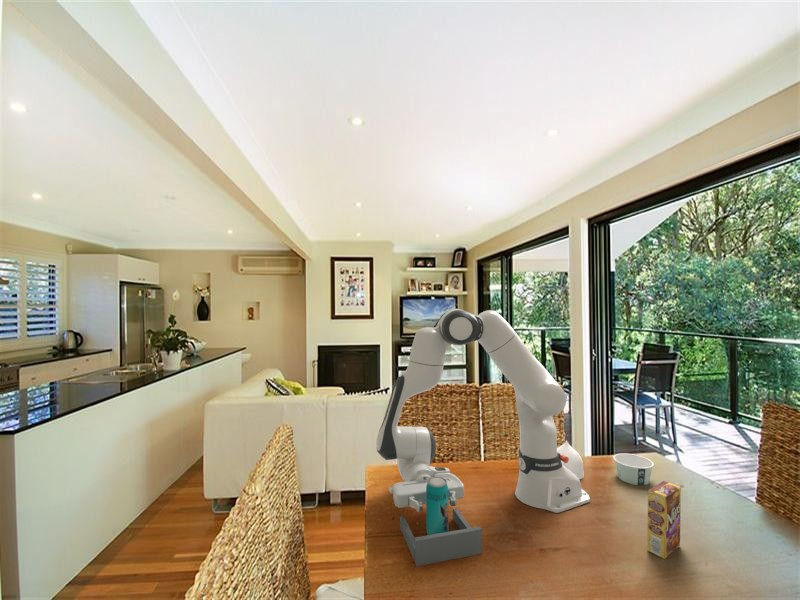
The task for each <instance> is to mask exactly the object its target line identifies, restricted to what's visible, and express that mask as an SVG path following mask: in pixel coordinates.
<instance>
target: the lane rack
mask: <svg viewBox="0 0 800 600" xmlns="http://www.w3.org/2000/svg"><path fill="white" fill-rule="evenodd" d="M452 520H453V522H454V523H455V524H456V526H457V527H458V529H456V530H451V531H449V532H444V533H438V534H433V535H428V534H427V535H422V536H417V537H416V536H414V534H413V532H412V529H411V528H410V526H409V523H408V521H407V519H406V518H405V516H404V515H402V516H399V529H400V531H401V533H402V535H403V538H404V540H405V543H406V545H407V548H408V549H409V551H410V554H411V555H412V559H413V561H414V564H415V565H416V567H419V566H424V565H425V566H426V565H429V564H436V563H440V562H446V561H451V560H455V559H462V558H465V557H467V558H468V557H472V556H476V555H482V554H483V539H482V538H483V537H482V536H483V534H482V533H483V532H482V531H483V530H482V528H481V526H475V527H471V525H470V524H469V522H468V521H467V519H465V517H464V516H463V515H462V513H461V512H460V510H459V509H458V508H457V507H455V508H452Z"/></svg>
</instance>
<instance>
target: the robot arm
mask: <svg viewBox="0 0 800 600" xmlns="http://www.w3.org/2000/svg"><path fill="white" fill-rule="evenodd" d="M476 341H477V342H478V343H479V344H480V345H481V346H482V348H483V349H484V351H485V353H487V355H488V356H489V357H490V359H491V360H492V362H493V363H494V364H495V366H496V367H497V369H498V370H499V371H500V372H501V374H502V375H504V377H505V378H506V379H507V381H508V382H510V384H511V385H512V386H513V389H514V395H515V404H516V412H517V417H518V423H519V426H518V427H519V449H518V468H519V470H518V471H519V472H518V479H517V483H516V484H517V485H516V487H515V492H514V494H515V497H516V498H517V499H518V500H519V501H520V503H521V502H522V503H523V504H524V505H525V504H526V505H527V506H530V507H533V508H537V509H541V510H547V511H549V512H552V513H556V514H557V513H558V514H559V513H562V512H564V511H567V510H570V509H573V508H576V507H579V506H582V505H585V504H587V503H590V502H591V498H590V495H589V494H588V493H587V492H586V491H585V490H584V489H583V488H582V484H581V480H580V479H578V477H577V476H576V475H575V474H574V473H572V472H571V471H570V470H569V469H567V468H566V467H565V466H564V465H562V462H561V461H563V462H564V463H568V461H569V458H568V457H567V456H565V455H560V453H558V452H557V448H558V441H557V440H558V438H557V437H558V436H557V435H558V434H557V431H558V430H557V426H556V423H555V421H554V416H557V415H558V414H560V413H561V412H562V411H563V410H564V409H565V407H566V405H567V395H566V393H565V390H564V389H563V388H562V386H560V384H559V383H558V382H557V380H556V379H555V378H554V377H553V375H551V374H550V372H549V371H548V370H547V369H546V368H545V366H544V365H543V364H542V363H541V362H540V361H539V360H538V359H537V358H536V356H535V355H534V354H533V353H532V352H531V351H530V349H529V348H528V347H527V346H526V344H525V343H524V342H523V340H522V339H521V337H520V336H519V335H518V333H517V332H516V331H515V329H514V328H513V327H512V326H511V324H510V323H509V322H508V321H507V320H506V319H504V317H503V316H502V315H501V314H499V313H498V312H497V311H495V310H492V309H488V310H485V311H484V310H483V312H480V313H479V314H478V315H477V314H476V315H475V314H473V313H471V312H469V311H467V310H464V309H460V308H453V309H449V310H447V311H445V312H444V313H443V314H442V315H440V318H439V319H438V320H437V321H436V323H435V325H433V326H431V327H430V326H426V327H422V328H419V329H418V330H417V331H416V332H415V335H414V338H413V341H412V345H411V350H410V354H409V360H408V366H407V368H406V370H405V371H404V373H403V374H402V375H400V376H398V377H397V379H396V380H395V382H394V385H393V388H392V391H391V394H390V397H389V400H388V404H387V408H386V410H385V413H384V417H383V421H382V423H381V426H380V428H379V432H378V433H377V437H376V443H375V446H376V452H377V453H378V455H380V457H382V458H383V459H384V460H385V461H390V460H392V461H393V460H397V462H396V463H397V464H396V465H397V469H398V472H399V475H400V477H401V478H402V480H403V481H400V482H396V483H394V484H392V485H391V486H389V488H388V491H389V493H390V494H391V495H392V496H393V503H394V506H395V507H397V508H399V509H401V508H407V507H411V508H412V509H415V510H416V512H418V513H419V512H423V511H424V505H426V485H427V480H428V479H429V478H431V477H442V478H444V479H446V480H447V485H448V505H450V506H451V507H456V506H458V501H457V500H459V499H463V498H464V496H465V484H464V483H463V481H461V480H460V479H459V478H458V477H457V475H455V474H453V473H451V471H450V468H448V467H437V466H432V465H431V464H432V463H433V460H434V458H435V455H436V448H437V447H436V446H437V443H436V439H435V436H434V434H433V433H432V431H431V430H430V429H429V428H428V426H398V424H399V420H400V418H401V414H402V410H403V407H404V405H405V402H406V401H408V400H409V399H410V398H411V397H414V396H416V395H419V394H421V393H425V392H427V391H430V390H433V388H435V387H436V386H437V385H438V384H439V383H440V382H441V380H442V377H443V373H444V365H445V356H446V352H447V349H448V348H449V346H451V345H454V346H465V345H468V344H471V343H473V342H476Z"/></svg>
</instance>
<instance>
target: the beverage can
mask: <svg viewBox="0 0 800 600" xmlns="http://www.w3.org/2000/svg"><path fill="white" fill-rule="evenodd" d="M425 505H426V511H425V512H426V533H427V535H433V534H438V533H444V532H450V531H449V529H450V528H449V500H448V485H447V480H446V479H444V478H442V477H431V478H429V479H428V480H427V485H426V504H425Z"/></svg>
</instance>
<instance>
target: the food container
mask: <svg viewBox="0 0 800 600" xmlns="http://www.w3.org/2000/svg"><path fill="white" fill-rule="evenodd" d="M612 458H613V460H614V462H615V468H616V472H617V478H619V480H621V481H622V482H625V483H627V484H630V485H635V486H647V485H649V484H650V480H651V476H652V475H651V474H652V471H653V467H654V466H655V465H654V462H653V461H652V460H650V459H649V458H647V457H644V456H642V455H637V454H632V453H616V454H615V455H613V457H612Z"/></svg>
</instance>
